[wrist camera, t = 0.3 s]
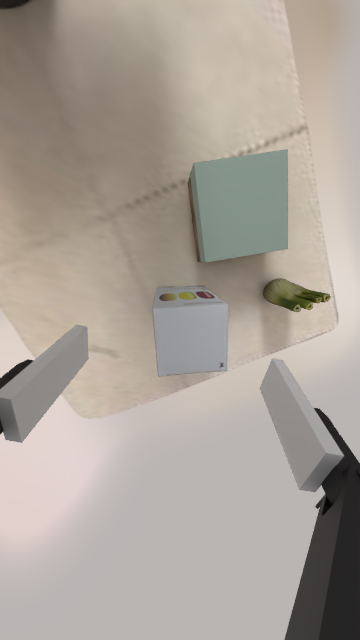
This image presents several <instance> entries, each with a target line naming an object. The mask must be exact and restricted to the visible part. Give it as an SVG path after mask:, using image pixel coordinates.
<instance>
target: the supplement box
mask: <svg viewBox="0 0 360 640" xmlns="http://www.w3.org/2000/svg"><path fill="white" fill-rule="evenodd" d="M153 321H154V334H155V345H156V358H157V369H158V376H159V377H160V376H169V375H179V374H189V373H201V372H218V371H227V351H228V304H227V303H226V302H224V301H223V300H222V299H220V298H219V297H218V296H216V295H215V294H214V293H212V292H211V291H209V290H208V289H207V288H205V287H204V286H187V287H167V288H157V289H156V294H155V299H154V304H153Z"/></svg>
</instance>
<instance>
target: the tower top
mask: <svg viewBox="0 0 360 640" xmlns="http://www.w3.org/2000/svg"><path fill="white" fill-rule="evenodd" d="M190 178H191V186H192V194H193V203H194V211H195V219H196V227H197V236H198V244H199V252H200V260H201V262H205V263H206V262H212V261H218V260H224V259H230V258H236V257H242V256H248V255H254V254H260V253H266V252H272V251H279V250H285V249H288V149H287V150H280V151H273V152H267V153H260V154H253V155H246V156H239V157H233V158H226V159H219V160H212V161H205V162H198V163H194V165H193V168H192V171H191V173H190Z"/></svg>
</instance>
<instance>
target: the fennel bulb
mask: <svg viewBox="0 0 360 640" xmlns="http://www.w3.org/2000/svg"><path fill="white" fill-rule="evenodd" d="M263 296H264V298H265V299H266V300H267V301H269V302H270V303H273V304H276V305H279V306H282V307H285V308H287V309H290V310H291V311H294V312H299V311H300V310H301V307H302V308H304V309H307V310H311V309H312V308H313V302H314V303H320V302H326V301H328V300H329V299H330V295H329V294H326V293H321V292H315V291H311V290H308V289H305V288H303V287H301V286H299V285H296V284H294V283H291V282H289V281H287V280H285V279H275V280H273V281H271V282H269V283H268V284H267V286H266V287H265V288H264V291H263Z"/></svg>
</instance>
